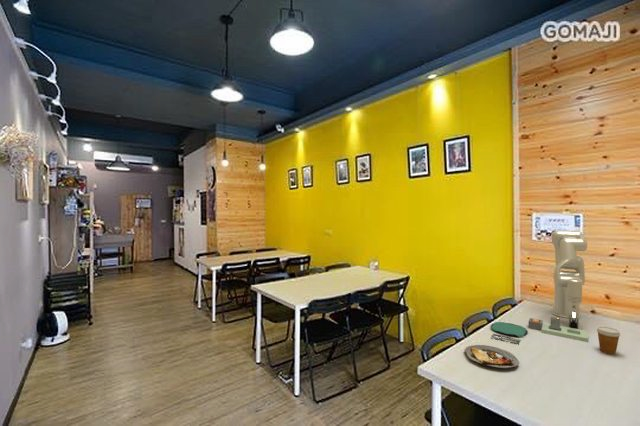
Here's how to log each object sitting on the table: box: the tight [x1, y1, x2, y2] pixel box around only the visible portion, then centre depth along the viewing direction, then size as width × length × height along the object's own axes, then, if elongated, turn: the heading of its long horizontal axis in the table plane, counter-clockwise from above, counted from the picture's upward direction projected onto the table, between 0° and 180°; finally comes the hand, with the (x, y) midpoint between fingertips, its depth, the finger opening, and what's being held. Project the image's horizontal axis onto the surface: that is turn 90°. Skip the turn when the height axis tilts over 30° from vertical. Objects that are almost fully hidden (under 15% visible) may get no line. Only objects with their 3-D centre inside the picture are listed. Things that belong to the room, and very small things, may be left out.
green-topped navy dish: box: [490, 321, 529, 346], centre depth 196 cm, size 20×30×2 cm, turn 140°
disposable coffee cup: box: [596, 326, 621, 355], centre depth 172 cm, size 10×10×12 cm
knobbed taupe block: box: [568, 315, 580, 329], centre depth 202 cm, size 5×5×8 cm
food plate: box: [464, 344, 520, 369], centre depth 164 cm, size 25×23×4 cm
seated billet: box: [549, 316, 561, 331], centre depth 198 cm, size 5×5×8 cm
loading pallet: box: [528, 317, 589, 343], centre depth 197 cm, size 29×14×5 cm, turn 52°
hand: (573, 326), depth 202 cm, fingers open, 7 cm apart
